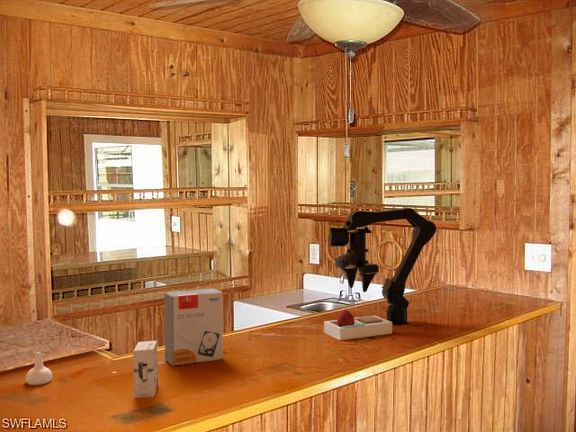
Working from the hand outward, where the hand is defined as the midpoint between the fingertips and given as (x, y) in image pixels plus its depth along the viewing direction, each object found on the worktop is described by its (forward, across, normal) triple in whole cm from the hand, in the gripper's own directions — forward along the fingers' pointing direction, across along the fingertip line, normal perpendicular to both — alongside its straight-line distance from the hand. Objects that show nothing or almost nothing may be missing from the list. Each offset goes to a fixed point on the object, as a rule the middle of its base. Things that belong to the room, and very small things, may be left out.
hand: (357, 289), depth 217 cm
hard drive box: (+13, +15, -64) cm, 67 cm away
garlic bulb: (+13, +16, -106) cm, 108 cm away
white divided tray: (+12, +10, -6) cm, 17 cm away
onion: (+12, +11, -11) cm, 19 cm away
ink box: (+13, +36, -82) cm, 90 cm away
